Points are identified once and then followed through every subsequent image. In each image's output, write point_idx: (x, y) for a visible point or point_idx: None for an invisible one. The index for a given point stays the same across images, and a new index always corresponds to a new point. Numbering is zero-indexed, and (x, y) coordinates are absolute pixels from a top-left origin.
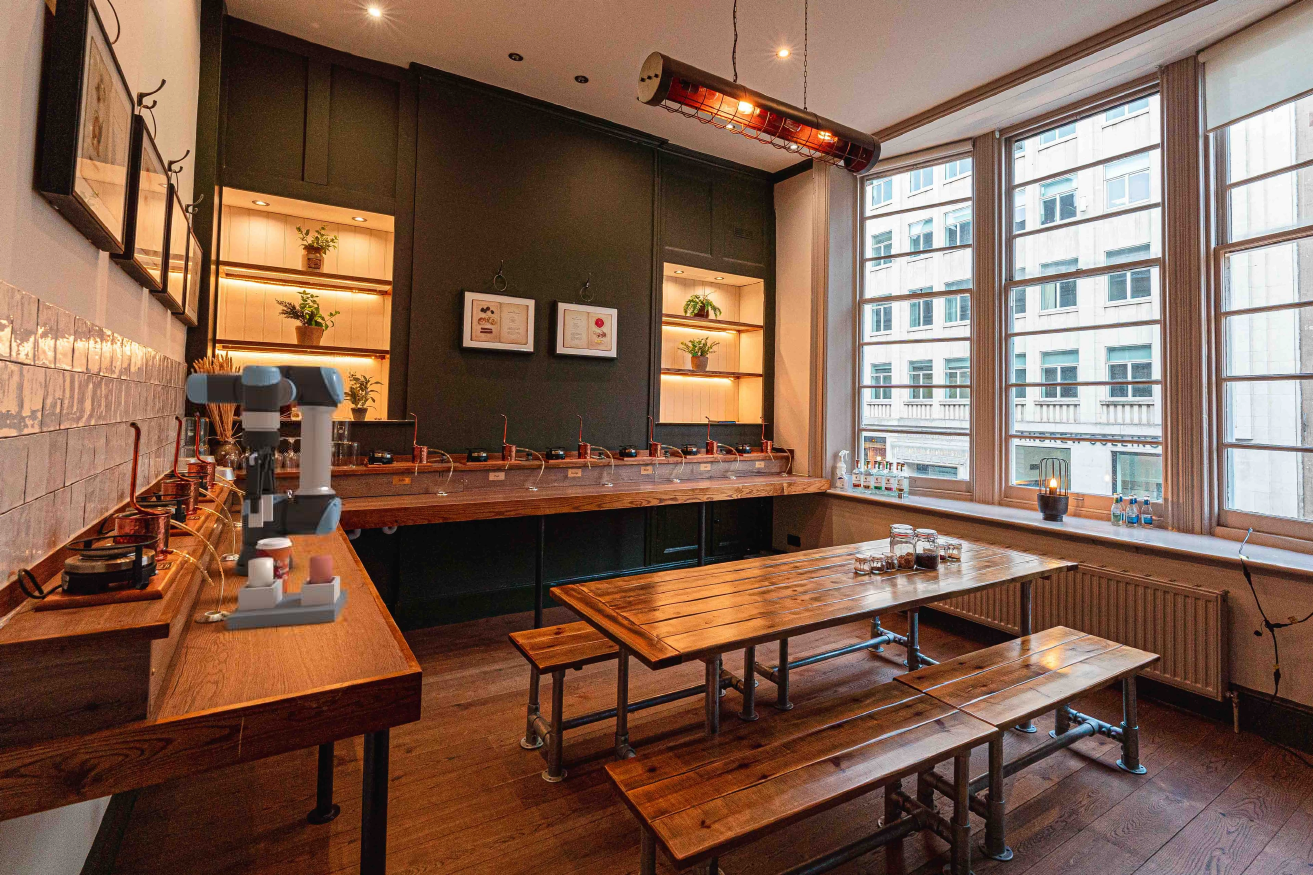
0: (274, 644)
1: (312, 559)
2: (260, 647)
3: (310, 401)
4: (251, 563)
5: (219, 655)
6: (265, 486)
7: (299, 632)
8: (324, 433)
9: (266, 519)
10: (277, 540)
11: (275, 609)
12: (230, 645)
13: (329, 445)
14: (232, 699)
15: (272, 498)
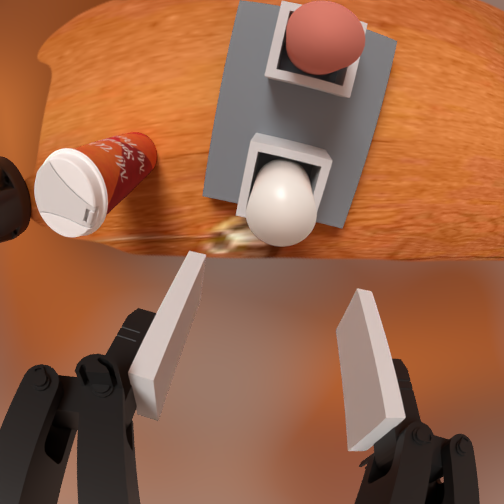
0: (451, 152)
1: (349, 63)
2: (452, 172)
3: None
4: (304, 237)
5: (447, 222)
6: (130, 462)
7: (418, 109)
8: None
9: (201, 281)
10: (61, 190)
11: (339, 145)
12: (418, 210)
13: None
14: None
15: (144, 350)
